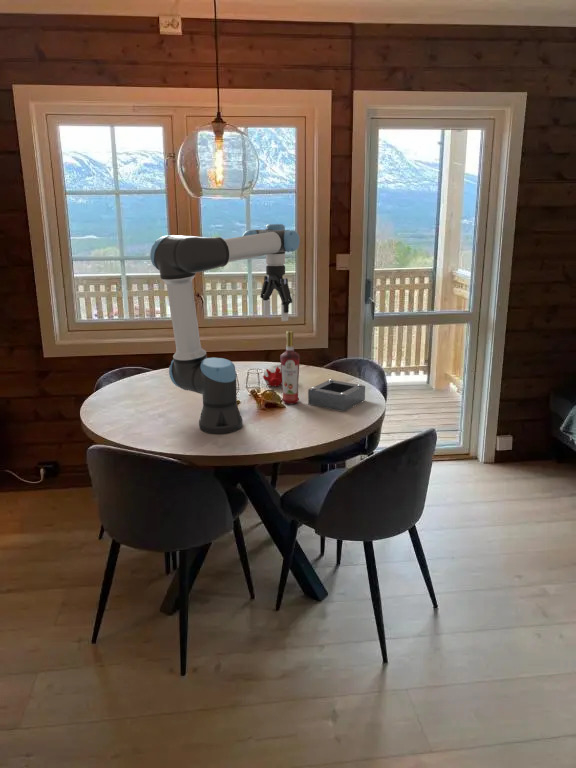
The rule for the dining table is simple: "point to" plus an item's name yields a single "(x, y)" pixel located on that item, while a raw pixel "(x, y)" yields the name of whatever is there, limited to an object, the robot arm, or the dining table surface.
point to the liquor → (290, 371)
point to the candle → (273, 375)
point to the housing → (336, 395)
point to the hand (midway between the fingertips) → (275, 318)
